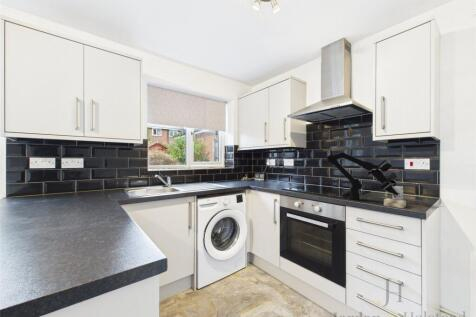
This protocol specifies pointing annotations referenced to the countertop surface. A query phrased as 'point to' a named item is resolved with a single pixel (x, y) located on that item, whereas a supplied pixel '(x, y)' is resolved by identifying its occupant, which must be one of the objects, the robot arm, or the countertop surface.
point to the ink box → (400, 193)
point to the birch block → (395, 203)
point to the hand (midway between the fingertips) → (399, 194)
